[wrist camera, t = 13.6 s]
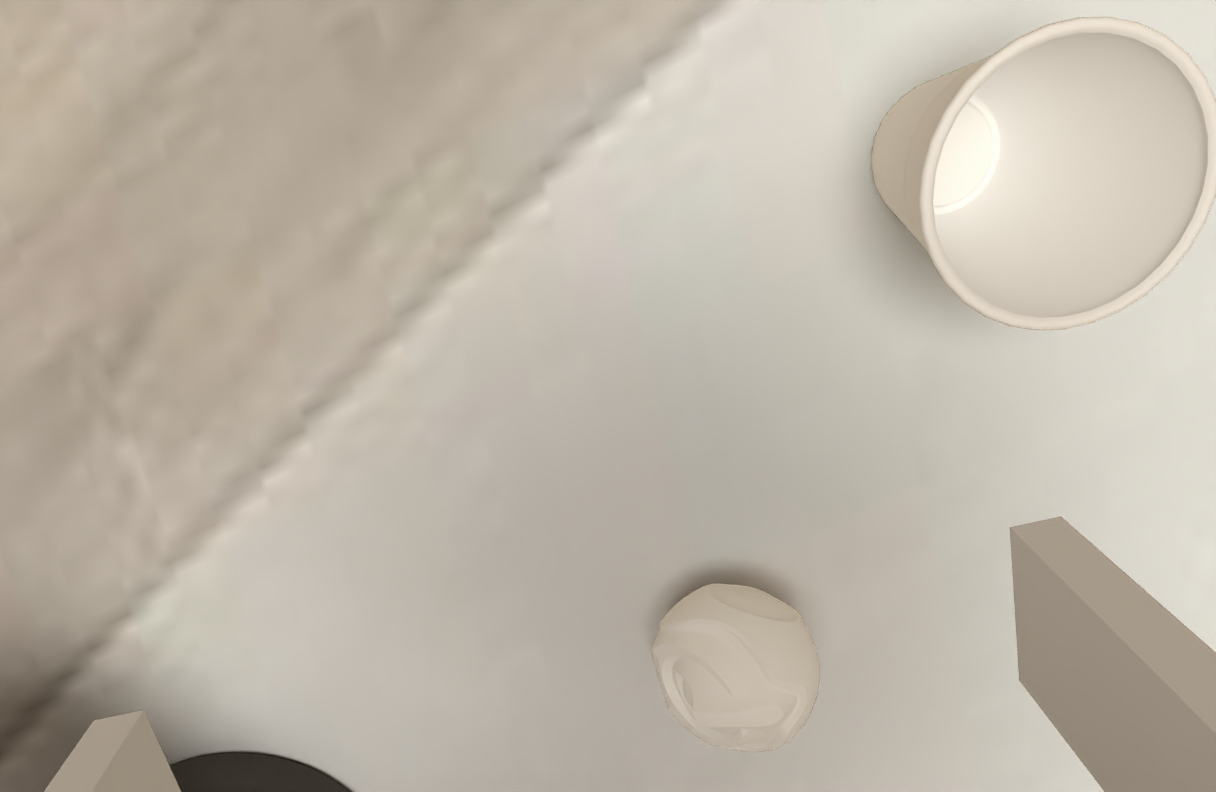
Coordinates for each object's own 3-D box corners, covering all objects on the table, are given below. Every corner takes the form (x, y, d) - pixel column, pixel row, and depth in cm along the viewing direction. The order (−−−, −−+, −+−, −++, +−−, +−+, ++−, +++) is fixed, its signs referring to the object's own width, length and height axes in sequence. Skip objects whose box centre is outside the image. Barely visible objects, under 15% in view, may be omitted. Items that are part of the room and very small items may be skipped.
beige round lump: (631, 572, 46) (646, 666, 39) (779, 534, 46) (822, 622, 39) (668, 700, 49) (688, 810, 42) (807, 665, 49) (852, 770, 41)
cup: (829, 279, 42) (922, 349, 31) (820, 46, 38) (920, 38, 28) (1046, 250, 42) (1210, 311, 31) (1056, 15, 38) (1242, -4, 28)
